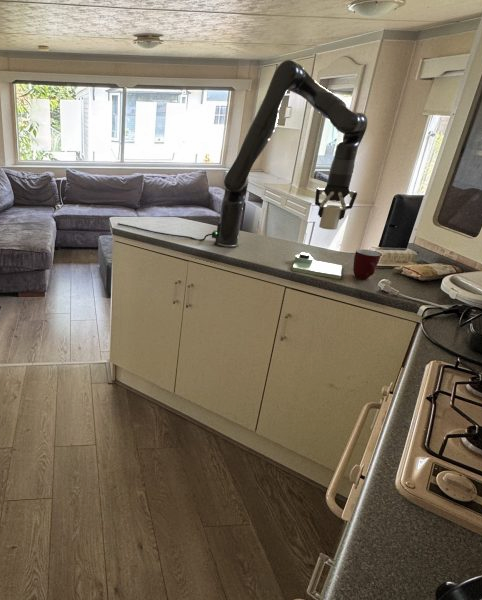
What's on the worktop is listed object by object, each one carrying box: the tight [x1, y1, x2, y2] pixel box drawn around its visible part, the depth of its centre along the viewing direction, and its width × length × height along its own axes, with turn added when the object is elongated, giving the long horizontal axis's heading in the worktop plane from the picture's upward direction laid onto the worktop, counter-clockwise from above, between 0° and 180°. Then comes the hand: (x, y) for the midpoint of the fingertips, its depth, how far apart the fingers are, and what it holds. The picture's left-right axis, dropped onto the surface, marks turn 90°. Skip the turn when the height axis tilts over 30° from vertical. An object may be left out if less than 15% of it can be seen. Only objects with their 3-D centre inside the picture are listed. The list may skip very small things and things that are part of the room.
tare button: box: [299, 252, 311, 259], centre depth 172 cm, size 4×4×2 cm
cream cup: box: [318, 204, 342, 231], centre depth 162 cm, size 6×6×8 cm
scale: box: [291, 254, 343, 280], centre depth 168 cm, size 17×14×3 cm
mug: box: [352, 248, 382, 281], centre depth 158 cm, size 10×8×10 cm
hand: (330, 218), depth 162 cm, fingers closed on cream cup, 6 cm apart
